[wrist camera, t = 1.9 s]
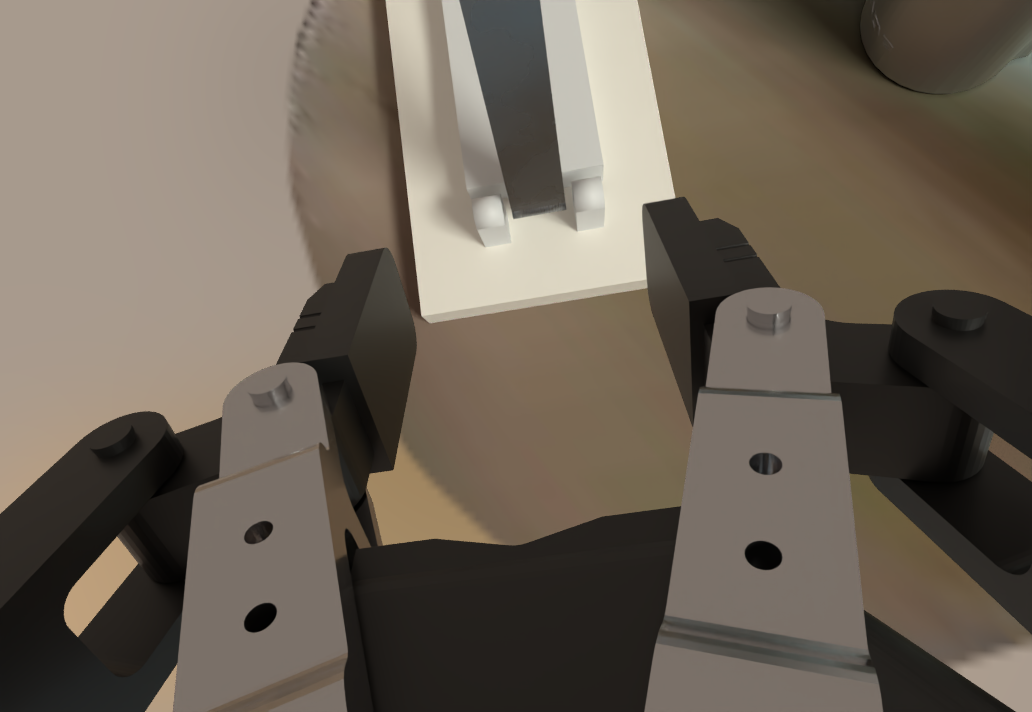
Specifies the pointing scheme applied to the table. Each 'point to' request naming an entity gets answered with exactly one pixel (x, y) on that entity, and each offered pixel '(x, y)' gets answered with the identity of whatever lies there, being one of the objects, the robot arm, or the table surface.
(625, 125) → the stand
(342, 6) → the table surface
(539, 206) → the bar
